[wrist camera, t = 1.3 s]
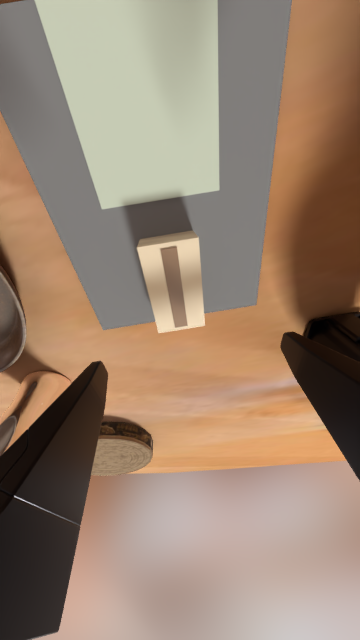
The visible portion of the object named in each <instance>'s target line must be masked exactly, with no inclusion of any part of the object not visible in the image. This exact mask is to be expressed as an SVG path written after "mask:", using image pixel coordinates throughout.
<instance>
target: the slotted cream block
mask: <svg viewBox="0 0 360 640" xmlns="http://www.w3.org/2000/svg"><path fill="white" fill-rule="evenodd" d="M137 250H138V254H139V258H140V262H141V266H142V270H143V274H144V278H145V282H146V286H147V289H148V293H149V297H150V301H151V305H152V309H153V313H154V317H155V321H156V325H157V329H158V333H163V332H169V331H176V330H182V329H188V328H194V327H200V326H205V319H204V305H203V291H202V277H201V263H200V248H199V237H198V236H197V235H196V234H195V232H194V231H186V232H180V233H174V234H168V235H162V236H156V237H150V238H144V239H140V240H139V243H138V246H137Z"/></svg>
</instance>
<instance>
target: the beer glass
mask: <svg viewBox="0 0 360 640" xmlns="http://www.w3.org/2000/svg"><path fill="white" fill-rule="evenodd" d="M70 385H71V381H70V380H69V379H67V378H66V377H64V376H63V375H61V374H58V373H55V372H50V371H37V372H33V373H30V374H28V375H27V376H26V377H25V378H24V379H23V381H22V383H21V385H20V388H19V390H18V392H17V394H16V396H15V398H14V400H13V401H12V403H11V404H10V406H9V407H8V408H7V410H6V411H5V412H4V413H3V414H2V415H1V416H0V456H1V455H2V454H3V453H4V452H5V451H6V450H7V449H8V448H9V447H10V446H11V445H12V444H13V443H14V442H15V441H16V440H17V439H18V438H19V437H20V436H21V435H22V434H23V433H24V432H25V431H26V430H27V429H28V428H29V427H30V426H31V425H32V424H33V423H34V422H35V421H36V420H37V418H38V417H39V416H40V415H41V414H42V413H43V412H44V411H45V410H46V409H47V408H48V407H49V406H50V405H51V404H52V403H53V402H54V401H55V400H56V399H57V398H58V397H59V396H60V395H61V394H62V393H63V392H64V391H65V390H66V389H67V388H68V387H69V386H70Z"/></svg>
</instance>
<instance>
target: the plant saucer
mask: <svg viewBox="0 0 360 640" xmlns="http://www.w3.org/2000/svg"><path fill="white" fill-rule="evenodd" d="M25 342H26V319H25V314H24V310H23V306H22V303H21V300H20V298H19V295H18V293H17V291H16V289H15V287H14V285H13V283H12V282H11V280H10V278H9V276H8V275H7V273H6V272H5V270H4V269H3V268H2V266H1V265H0V372H2V371H4V370H5V369H7V368H8V367H10V366H11V365H12V364H13V363H14V362H15V361H16V360H17V359H18V358H19V356H20V355H21V353H22V351H23V348H24V346H25Z"/></svg>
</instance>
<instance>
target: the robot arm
mask: <svg viewBox="0 0 360 640" xmlns="http://www.w3.org/2000/svg"><path fill="white" fill-rule="evenodd" d="M281 350H282V352H283V354H284V356H285V358H286V360H287V362H288V365H289V367H290V369H291V371H292V373H293V375H294V377H295V378H296V380H297V382H298V383H299V385H300V386H301V388H302V390H303V391H304V393H305V394H306V396H307V398H308V399H309V401H310V402H311V404H312V406H313V407H314V409H315V410H316V412H317V414H318V415H319V417H320V418H321V420H322V422H323V423H324V425H325V426H326V428H327V430H328V431H329V433H330V434H331V436H332V438H333V439H334V441H335V442H336V444H337V446H338V447H339V449H340V450H341V452H342V454H343V455H344V457H345V458H346V460H347V461H348V463H349V465H350V466H351V468H352V469H353V471H354V472H355V474H356V476H357V477H358V479H359V480H360V312H355V313H348V314H342V315H336V316H330V317H324V318H318V319H313V320H311V321H310V322H309V325H308V328H307V331H306V334H305V337H304V336H302V335H300V334H297V333H295V332H286V333H284V334H283V338H282V341H281ZM107 380H108V373H107V370H106V368H105V366H104V364H103V363H102V362H101V361H96V362H92V363H91V364H90V365H89V366H88V367H87V368H86V369H85V370H84V371H83V372H82V373H81V374H80V375H79V376H78V377H77V378H76V379H75V380H74V381H73V382H72V383H71V385H70V386H69V387H68V388H67V389H66V390H65V391H64V392H63V393H62V394H61V395H60V396H59V397H58V398H57V399H56V400H55V401H54V402H53V403H52V404H51V405H50V406H49V407H48V408H47V409H46V410H45V411H44V412H43V413H42V414H41V415H40V416H39V417H38V418H37V420H36V421H35V422H34V423H33V424H32V425H31V426H30V427H29V428H28V429H27V430H26V431H25V432H24V433H23V434H22V435H21V436H20V437H19V438H18V439H17V440H16V441H15V442H14V443H13V444H12V445H11V446H10V447H9V448H8V449H7V450H6V451H5V452H4V453H3V454H2V455H1V456H0V640H32V639H35V638H39V637H42V636H46V635H49V634H53V633H56V632H58V630H59V626H60V622H61V618H62V613H63V608H64V603H65V598H66V594H67V589H68V584H69V579H70V574H71V569H72V565H73V559H74V555H75V550H76V545H77V541H78V535H79V530H80V525H81V521H82V516H83V511H84V506H85V501H86V496H87V492H88V487H89V481H90V476H91V472H92V467H93V462H94V458H95V453H96V448H97V443H98V438H99V433H100V429H101V424H102V419H103V414H104V409H105V402H106V391H107Z"/></svg>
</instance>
